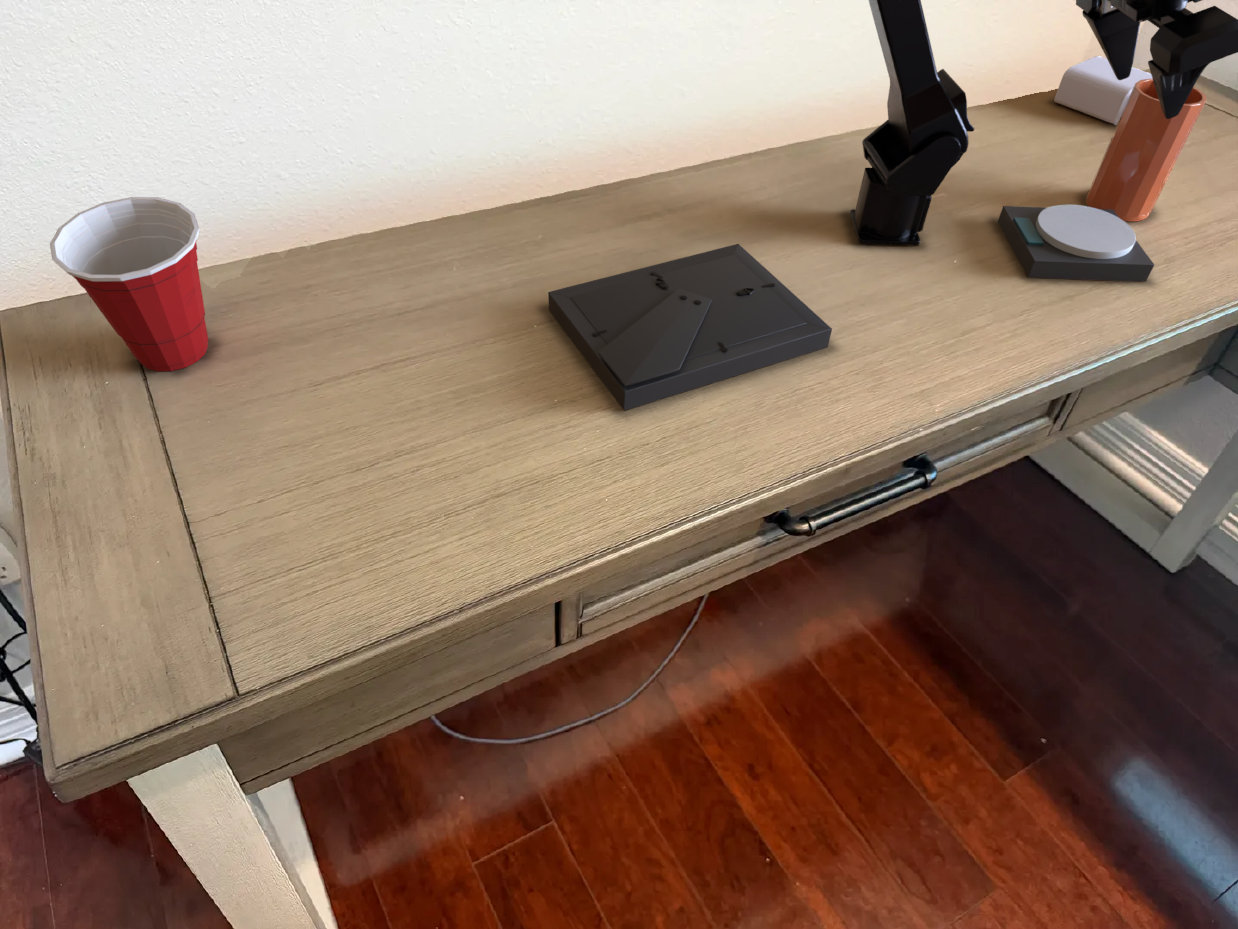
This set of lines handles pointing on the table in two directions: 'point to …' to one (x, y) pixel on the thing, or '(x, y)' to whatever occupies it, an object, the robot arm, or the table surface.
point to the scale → (1074, 243)
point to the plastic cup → (140, 275)
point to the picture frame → (685, 324)
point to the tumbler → (1142, 153)
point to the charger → (1097, 89)
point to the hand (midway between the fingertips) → (1146, 96)
